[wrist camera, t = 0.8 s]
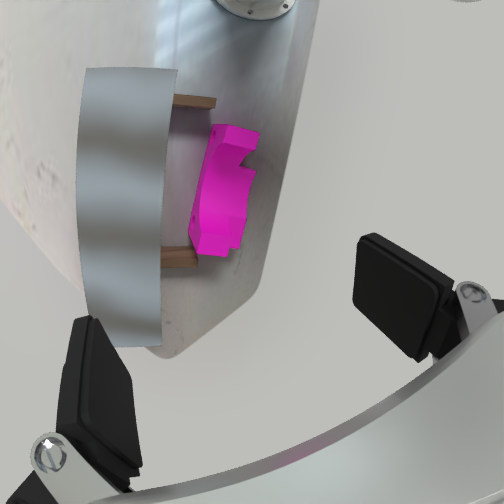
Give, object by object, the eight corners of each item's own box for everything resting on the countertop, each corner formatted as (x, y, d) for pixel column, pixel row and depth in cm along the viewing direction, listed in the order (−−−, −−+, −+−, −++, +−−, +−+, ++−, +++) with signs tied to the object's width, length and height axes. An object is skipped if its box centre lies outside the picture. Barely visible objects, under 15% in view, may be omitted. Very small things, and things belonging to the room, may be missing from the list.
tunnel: (115, 95, 28) (86, 68, 13) (209, 100, 33) (265, 83, 17) (109, 255, 37) (96, 347, 21) (192, 254, 41) (228, 340, 25)
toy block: (229, 236, 42) (246, 258, 36) (187, 230, 40) (197, 253, 33) (256, 135, 37) (279, 138, 31) (212, 124, 34) (228, 124, 28)
